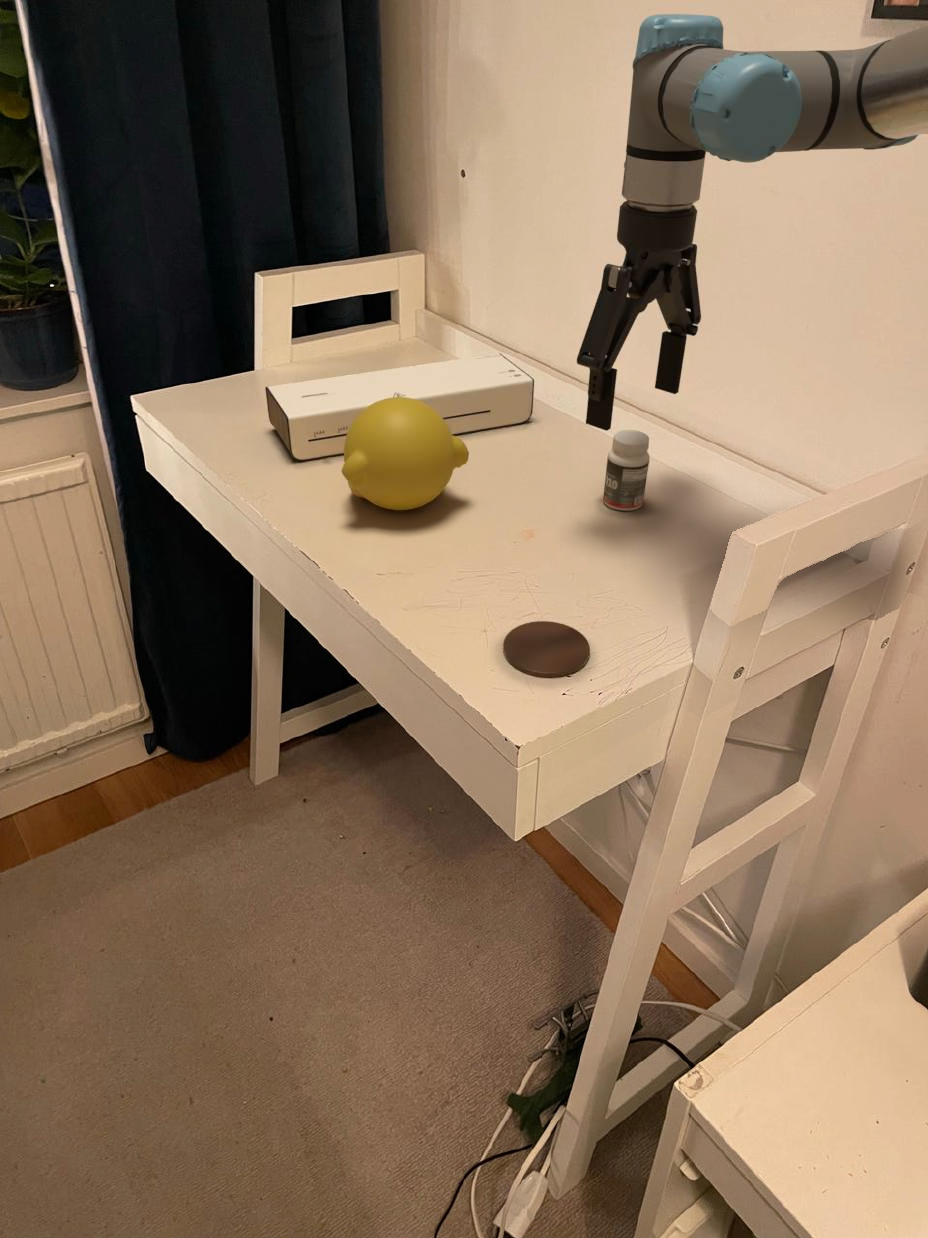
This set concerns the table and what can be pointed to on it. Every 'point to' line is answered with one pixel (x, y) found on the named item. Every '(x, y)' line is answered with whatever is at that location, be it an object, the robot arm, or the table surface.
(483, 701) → the table surface
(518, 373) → the laminator
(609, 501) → the pill bottle
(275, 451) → the table surface
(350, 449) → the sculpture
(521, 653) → the coaster
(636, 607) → the table surface
